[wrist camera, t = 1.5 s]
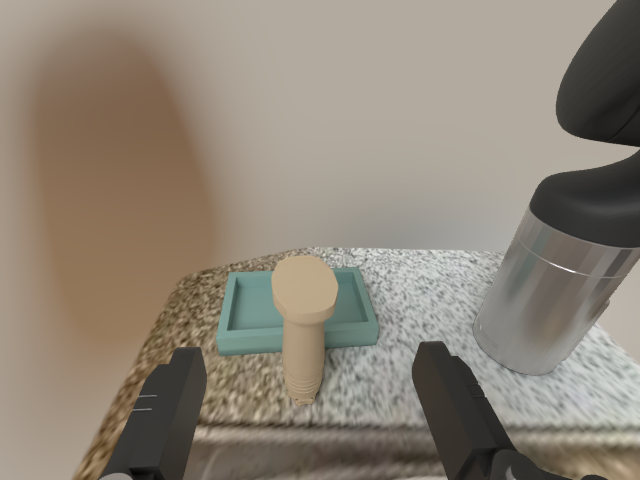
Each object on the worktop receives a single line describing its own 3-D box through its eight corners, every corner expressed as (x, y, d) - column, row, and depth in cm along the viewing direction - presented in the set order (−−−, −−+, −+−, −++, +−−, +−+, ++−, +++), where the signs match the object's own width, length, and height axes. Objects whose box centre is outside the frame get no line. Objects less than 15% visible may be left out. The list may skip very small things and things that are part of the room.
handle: (282, 430, 28) (275, 317, 20) (276, 368, 33) (268, 258, 25) (333, 419, 29) (347, 308, 21) (319, 361, 34) (326, 253, 26)
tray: (356, 282, 45) (358, 267, 44) (375, 344, 36) (379, 327, 35) (232, 288, 43) (229, 272, 42) (219, 356, 34) (215, 338, 33)
